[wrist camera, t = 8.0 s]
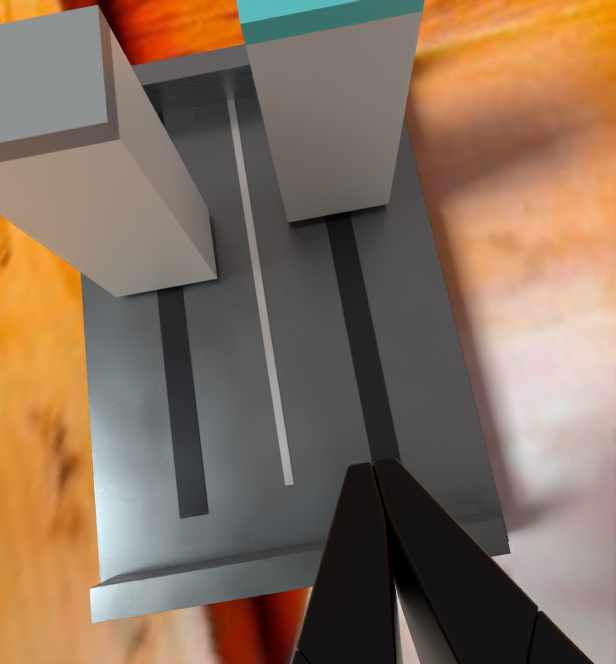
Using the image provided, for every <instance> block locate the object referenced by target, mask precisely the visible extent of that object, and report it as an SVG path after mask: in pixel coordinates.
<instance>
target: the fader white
mask: <svg viewBox="0 0 616 664" xmlns="http://www.w3.org/2000/svg"><path fill="white" fill-rule="evenodd" d="M0 215H1V216H2V217H4V218H5V219H6V220H8V221H9V222H11V223H12V224H13V225H15V226H16V227H18V228H19V229H21V230H22V231H23V232H25V233H26V234H28V235H29V236H30V237H32V238H33V239H35V240H36V241H37V242H39V243H40V244H42V245H43V246H45V247H46V248H47V249H49V250H50V251H52V252H53V253H54V254H56V255H57V256H59V257H60V258H61V259H63V260H64V261H66V262H67V263H68V264H70V265H71V266H73V267H74V268H76V269H77V270H78V271H80V272H81V273H83V274H84V275H85V276H87V277H88V278H90V279H91V280H92V281H94V282H95V283H97V284H98V285H99V286H101V287H102V288H104V289H105V290H107V291H108V292H109V293H111V294H112V295H114V296H115V297H120V296H125V295H130V294H136V293H141V292H147V291H152V290H158V289H163V288H169V287H174V286H180V285H185V284H190V283H196V282H201V281H207V280H212V279H217V272H216V264H215V257H214V249H213V242H212V234H211V227H210V219H209V211H208V207H207V206H206V204H205V202H204V200H203V198H202V196H201V194H200V193H199V191H198V189H197V187H196V185H195V183H194V182H193V180H192V178H191V176H190V174H189V172H188V170H187V169H186V167H185V165H184V163H183V161H182V159H181V158H180V156H179V154H178V152H177V150H176V148H175V147H174V145H173V143H172V141H171V139H170V137H169V135H168V134H167V132H166V130H165V128H164V126H163V124H162V123H161V121H160V119H159V117H158V115H157V113H156V111H155V110H154V108H153V106H152V104H151V102H150V100H149V99H148V97H147V95H146V93H145V91H144V89H143V87H142V86H141V84H140V82H139V80H138V78H137V76H136V75H135V73H134V71H133V69H132V67H131V65H130V64H129V62H128V60H127V58H126V56H125V54H124V52H123V51H122V49H121V47H120V45H119V43H118V41H117V40H116V38H115V36H114V34H113V32H112V30H111V28H110V27H109V25H108V23H107V21H106V19H105V17H104V16H103V14H102V12H101V10H100V8H99V6H98V5H96V6H91V7H86V8H80V9H75V10H70V11H65V12H60V13H55V14H50V15H45V16H40V17H35V18H30V19H25V20H20V21H15V22H10V23H4V24H0Z"/></svg>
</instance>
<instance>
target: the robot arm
mask: <svg viewBox="0 0 616 664" xmlns="http://www.w3.org/2000/svg"><path fill="white" fill-rule="evenodd" d="M395 586H396V589H395ZM396 590H397V594H398V597H399V601H400V604H401V607H402V610H403V613H404V616H405V619H406V622H407V625H408V628H409V631H410V634H411V637H412V640H413V643H414V646H415V649H416V652H417V655H418V658H419V661H420V664H594V663H593V662H592V661H591V660H590V659H589V658H588V657H587V656H586V655H585V654H584V653H583V652H582V651H581V650H580V649H579V648H578V647H577V646H576V645H575V644H574V643H573V642H572V641H571V640H570V639H569V638H568V637H567V636H566V635H565V634H564V633H563V632H562V631H561V630H560V629H559V628H558V627H557V626H556V625H555V624H554V623H553V621H552V620H551V619H550V618H549V617H548V616H547V615H546V614H545V613H544V612H543V611H538V606H537V605H536V604H535V603H534V602H533V601H532V600H531V599H530V598H529V597H528V596H527V595H526V593H525V592H524V591H523V590H522V589H521V588H520V587H519V586H518V585H517V584H516V583H515V582H514V581H513V580H512V579H511V578H510V577H509V576H508V575H507V574H506V572H505V571H504V570H503V569H502V568H501V567H500V566H499V565H498V564H497V563H496V562H495V561H494V560H493V559H492V558H491V557H490V556H489V555H488V554H487V553H486V552H485V550H484V549H483V548H482V547H481V546H480V545H479V544H478V543H477V542H476V541H475V540H474V539H473V538H472V537H471V536H470V535H469V534H468V533H467V532H466V531H465V529H464V528H463V527H462V526H461V525H460V524H459V523H458V522H457V521H456V520H455V519H454V518H453V517H452V516H451V515H450V514H449V513H448V512H447V511H446V510H445V509H444V507H443V506H442V505H441V504H440V503H439V502H438V501H437V500H436V499H435V498H434V497H433V496H432V495H431V494H430V493H429V492H428V491H427V490H426V489H425V488H424V486H423V485H422V484H421V483H420V482H419V481H418V480H417V479H416V478H415V477H414V476H413V475H412V474H411V473H410V472H409V471H408V470H407V469H406V468H405V467H404V465H403V464H402V463H401V462H400V461H399V460H397V459H396V458H388V459H382V460H376V461H374V462H373V466H372V464H371V463H370V462H365V463H359V464H353V465H350V466H348V468H347V470H346V474H345V477H344V481H343V484H342V487H341V491H340V494H339V498H338V501H337V505H336V508H335V512H334V515H333V519H332V522H331V526H330V529H329V533H328V536H327V540H326V543H325V547H324V550H323V554H322V557H321V561H320V564H319V568H318V571H317V575H316V578H315V582H314V585H313V589H312V592H311V596H310V599H309V602H308V606H307V609H306V613H305V616H304V620H303V623H302V627H301V630H300V634H299V637H298V641H297V644H296V648H297V650H296V651H295V652H294V654H293V657H292V661H291V664H403V658H402V647H401V637H400V626H399V615H398V605H397V597H396Z"/></svg>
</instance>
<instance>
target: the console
mask: <svg viewBox="0 0 616 664" xmlns="http://www.w3.org/2000/svg"><path fill="white" fill-rule="evenodd" d="M131 67H132V69H133V71H134V73H135V75H136V76H137V78H138V80H139V82H140V84H141V86H142V87H143V89H144V91H145V93H146V95H147V97H148V99H149V100H150V102H151V104H152V106H153V108H154V110H155V111H156V113H157V115H158V117H159V119H160V121H161V123H162V124H163V126H164V128H165V130H166V132H167V134H168V135H169V137H170V139H171V141H172V143H173V145H174V147H175V148H176V150H177V152H178V154H179V156H180V158H181V159H182V161H183V163H184V165H185V167H186V169H187V170H188V172H189V174H190V176H191V178H192V180H193V182H194V183H195V185H196V187H197V189H198V191H199V193H200V194H201V196H202V198H203V200H204V202H205V204H206V206H207V207H208V211H209V219H210V227H211V234H212V242H213V249H214V257H215V264H216V272H217V279H212V280H207V281H201V282H196V283H190V284H185V285H180V286H174V287H169V288H163V289H158V290H152V291H147V292H141V293H136V294H130V295H125V296H120V297H115V296H114V295H112V294H111V293H109V292H108V291H107V290H105V289H104V288H102V287H101V286H99V285H98V284H97V283H95V282H94V281H92V280H91V279H90V278H88V277H87V276H85V275H84V274H83V273H81V285H82V300H83V316H84V332H85V347H86V363H87V379H88V394H89V410H90V426H91V441H92V457H93V473H94V488H95V504H96V519H97V535H98V551H99V566H100V582H101V583H100V584H98V585H96V586H94V587H92V588H90V601H91V618H92V623H98V622H104V621H110V620H116V619H122V618H128V617H134V616H140V615H146V614H152V613H158V612H164V611H170V610H176V609H182V608H188V607H194V606H200V605H206V604H212V603H218V602H224V601H229V600H235V599H241V598H247V597H253V596H259V595H265V594H271V593H277V592H283V591H289V590H295V589H301V588H307V587H313V585H314V582H315V578H316V575H317V571H318V568H319V564H320V561H321V557H322V554H323V550H324V547H325V543H326V540H327V536H328V533H329V529H330V526H331V522H332V519H333V515H334V512H335V508H336V505H337V501H338V498H339V494H340V491H341V487H342V484H343V481H344V477H345V474H346V470H347V468H348V466H350V465H353V464H359V463H365V462H370V463H371V464H372V466H373V462H374V461H376V460H382V459H388V458H396V459H397V460H399V461H400V462H401V463H402V464H403V465H404V467H405V468H406V469H407V470H408V471H409V472H410V473H411V474H412V475H413V476H414V477H415V478H416V479H417V480H418V481H419V482H420V483H421V484H422V485H423V486H424V488H425V489H426V490H427V491H428V492H429V493H430V494H431V495H432V496H433V497H434V498H435V499H436V500H437V501H438V502H439V503H440V504H441V505H442V506H443V507H444V509H445V510H446V511H447V512H448V513H449V514H450V515H451V516H452V517H453V518H454V519H455V520H456V521H457V522H458V523H459V524H460V525H461V526H462V527H463V528H464V529H465V531H466V532H467V533H468V534H469V535H470V536H471V537H472V538H473V539H474V540H475V541H476V542H477V543H478V544H479V545H480V546H481V547H482V548H483V549H484V550H485V552H486V553H487V554H488V555H489V556H490V557H492V556H498V555H504V554H510V553H511V552H510V548H509V544H508V542H509V539H508V535H507V531H506V527H505V523H504V519H503V515H502V511H501V507H500V503H499V499H498V495H497V491H496V487H495V483H494V479H493V475H492V471H491V466H490V462H489V458H488V454H487V450H486V446H485V442H484V438H483V434H482V430H481V426H480V422H479V418H478V414H477V410H476V406H475V402H474V397H473V393H472V389H471V385H470V381H469V377H468V373H467V369H466V365H465V361H464V357H463V353H462V349H461V345H460V341H459V337H458V333H457V329H456V324H455V320H454V316H453V312H452V308H451V304H450V300H449V296H448V292H447V288H446V284H445V280H444V276H443V272H442V268H441V264H440V260H439V255H438V251H437V247H436V243H435V239H434V235H433V231H432V227H431V223H430V219H429V215H428V211H427V207H426V203H425V199H424V195H423V191H422V187H421V182H420V178H419V174H418V170H417V166H416V162H415V158H414V154H413V150H412V146H411V142H410V138H409V134H408V130H407V126H406V122H405V118H404V119H403V125H402V131H401V136H400V142H399V148H398V154H397V159H396V165H395V171H394V176H393V182H392V188H391V193H390V199H389V204H385V205H379V206H374V207H369V208H363V209H358V210H352V211H347V212H342V213H336V214H331V215H325V216H320V217H315V218H309V219H304V220H298V221H293V222H287V218H286V213H285V209H284V205H283V201H282V197H281V192H280V188H279V184H278V180H277V175H276V171H275V167H274V163H273V159H272V154H271V150H270V146H269V142H268V138H267V133H266V129H265V125H264V121H263V117H262V112H261V108H260V104H259V100H258V96H257V91H256V87H255V83H254V79H253V75H252V70H251V66H250V62H249V58H248V54H247V49H246V45H245V44H243V45H238V46H233V47H227V48H222V49H217V50H212V51H207V52H202V53H197V54H191V55H186V56H181V57H176V58H171V59H166V60H160V61H155V62H150V63H145V64H140V65H135V66H131Z"/></svg>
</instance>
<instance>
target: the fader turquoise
mask: <svg viewBox="0 0 616 664" xmlns="http://www.w3.org/2000/svg"><path fill="white" fill-rule="evenodd" d="M237 6H238V12H239V18H240V24H241V28H242V32H243V37H244V41H245V45H246V49H247V54H248V58H249V62H250V66H251V70H252V75H253V79H254V83H255V87H256V91H257V96H258V100H259V104H260V108H261V112H262V117H263V121H264V125H265V129H266V133H267V138H268V142H269V146H270V150H271V154H272V159H273V163H274V167H275V171H276V175H277V180H278V184H279V188H280V192H281V197H282V201H283V205H284V209H285V213H286V218H287V222H293V221H298V220H304V219H309V218H315V217H320V216H325V215H331V214H336V213H342V212H347V211H352V210H358V209H363V208H369V207H374V206H379V205H385V204H389V199H390V193H391V188H392V182H393V176H394V171H395V165H396V159H397V154H398V148H399V142H400V136H401V131H402V125H403V119H404V114H405V108H406V102H407V97H408V91H409V85H410V80H411V74H412V68H413V62H414V57H415V51H416V45H417V40H418V34H419V28H420V23H421V17H422V11H423V6H424V0H237Z"/></svg>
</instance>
